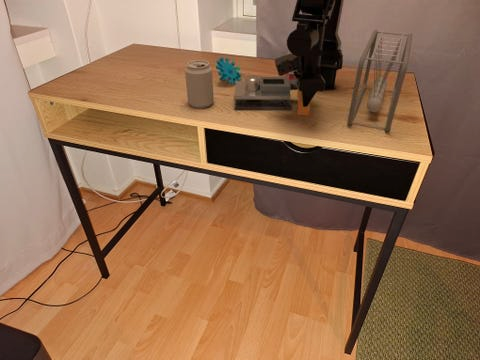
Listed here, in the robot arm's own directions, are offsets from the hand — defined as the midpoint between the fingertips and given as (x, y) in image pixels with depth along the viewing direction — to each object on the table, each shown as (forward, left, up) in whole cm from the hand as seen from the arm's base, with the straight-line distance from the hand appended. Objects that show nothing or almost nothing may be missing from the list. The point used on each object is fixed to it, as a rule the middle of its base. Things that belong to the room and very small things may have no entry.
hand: (304, 103), depth 97 cm
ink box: (-2, -25, -3) cm, 26 cm away
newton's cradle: (-21, -4, -3) cm, 21 cm away
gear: (+21, -23, -3) cm, 32 cm away
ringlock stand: (+8, -8, -3) cm, 12 cm away
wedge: (0, 0, -3) cm, 3 cm away
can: (+29, -6, -3) cm, 30 cm away
